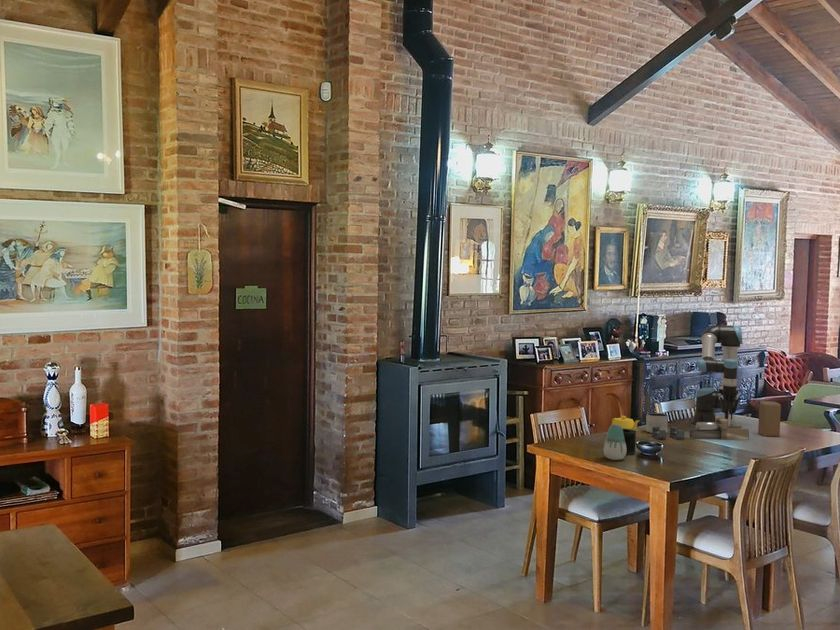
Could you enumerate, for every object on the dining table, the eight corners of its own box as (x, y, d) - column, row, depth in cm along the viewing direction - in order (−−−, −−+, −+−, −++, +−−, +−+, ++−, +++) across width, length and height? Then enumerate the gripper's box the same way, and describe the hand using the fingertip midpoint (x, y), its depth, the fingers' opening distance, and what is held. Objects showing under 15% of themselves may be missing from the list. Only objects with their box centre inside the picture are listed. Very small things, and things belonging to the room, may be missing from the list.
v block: (651, 436, 481) (652, 426, 481) (676, 436, 482) (676, 427, 482) (659, 439, 470) (659, 430, 470) (683, 439, 472) (684, 430, 471)
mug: (627, 455, 425) (628, 433, 425) (605, 450, 437) (606, 428, 436) (640, 453, 432) (641, 431, 432) (617, 448, 443) (618, 426, 443)
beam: (687, 436, 482) (688, 416, 482) (743, 436, 486) (744, 416, 485) (694, 439, 473) (694, 419, 472) (751, 439, 477) (751, 419, 476)
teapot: (618, 433, 486) (619, 412, 485) (646, 439, 470) (647, 418, 469) (603, 436, 477) (604, 414, 477) (631, 442, 462) (632, 420, 461)
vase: (616, 455, 425) (618, 421, 424) (630, 460, 414) (632, 425, 414) (598, 457, 420) (599, 423, 420) (612, 462, 410) (613, 427, 409)
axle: (699, 430, 475) (699, 421, 476) (696, 431, 480) (695, 422, 481) (729, 430, 477) (728, 421, 478) (725, 431, 481) (724, 422, 483)
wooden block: (774, 433, 497) (775, 401, 496) (780, 437, 487) (781, 404, 486) (757, 433, 498) (759, 400, 497) (762, 436, 488) (764, 403, 487)
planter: (654, 429, 502) (654, 411, 501) (671, 433, 492) (672, 415, 491) (641, 431, 494) (642, 413, 494) (658, 435, 484) (659, 416, 484)
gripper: (722, 386, 474) (720, 426, 476) (743, 386, 475) (741, 426, 477) (716, 384, 481) (714, 423, 483) (737, 384, 483) (735, 423, 484)
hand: (728, 424), depth 480 cm, fingers closed
